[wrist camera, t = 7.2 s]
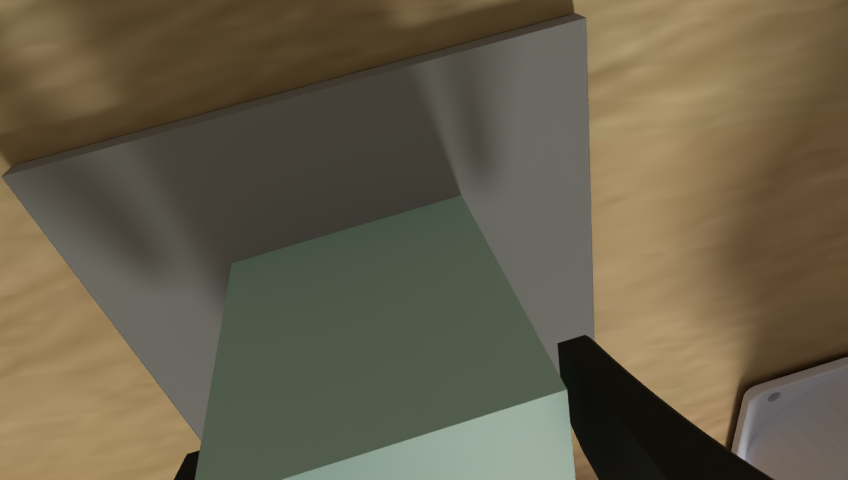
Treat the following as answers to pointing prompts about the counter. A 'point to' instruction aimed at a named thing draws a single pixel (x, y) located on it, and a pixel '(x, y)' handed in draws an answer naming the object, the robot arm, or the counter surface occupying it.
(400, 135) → the charcoal mat
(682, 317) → the counter surface
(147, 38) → the counter surface
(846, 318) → the counter surface
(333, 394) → the teal cover
